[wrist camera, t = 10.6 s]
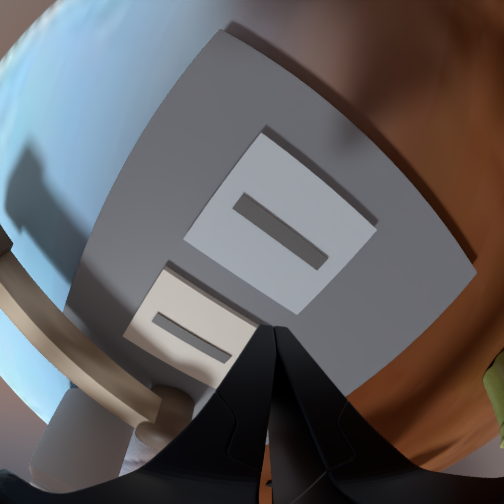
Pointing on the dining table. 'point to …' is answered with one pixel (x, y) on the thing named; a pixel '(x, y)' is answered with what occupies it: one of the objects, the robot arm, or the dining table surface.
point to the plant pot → (496, 390)
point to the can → (79, 446)
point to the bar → (88, 359)
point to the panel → (258, 235)
